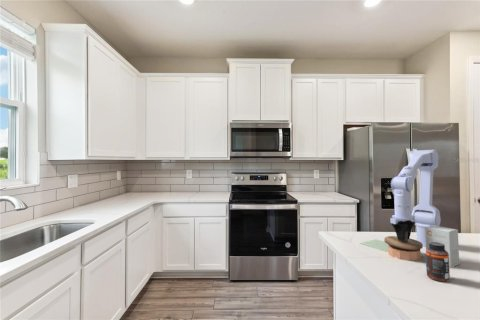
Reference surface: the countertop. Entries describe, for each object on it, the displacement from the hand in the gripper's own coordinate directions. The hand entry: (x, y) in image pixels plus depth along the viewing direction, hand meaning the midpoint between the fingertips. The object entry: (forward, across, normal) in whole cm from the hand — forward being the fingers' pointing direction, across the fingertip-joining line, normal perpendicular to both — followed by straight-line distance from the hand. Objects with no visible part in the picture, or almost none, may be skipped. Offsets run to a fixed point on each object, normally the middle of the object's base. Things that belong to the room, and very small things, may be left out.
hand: (403, 239), depth 100 cm
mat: (+7, -5, -12) cm, 15 cm away
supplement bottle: (+7, +11, +16) cm, 21 cm away
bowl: (+7, 0, 0) cm, 7 cm away
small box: (+7, -6, +11) cm, 14 cm away
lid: (+3, 0, 0) cm, 3 cm away
